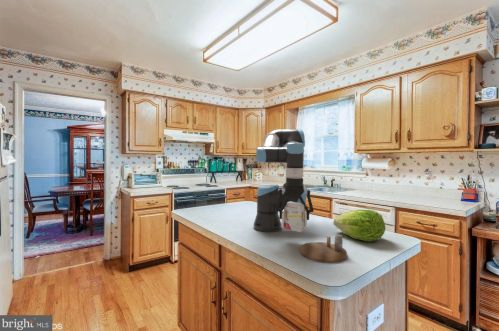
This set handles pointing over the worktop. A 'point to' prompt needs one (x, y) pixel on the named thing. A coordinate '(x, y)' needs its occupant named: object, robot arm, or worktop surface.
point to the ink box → (294, 216)
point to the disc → (325, 250)
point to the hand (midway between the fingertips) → (293, 226)
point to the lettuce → (361, 224)
